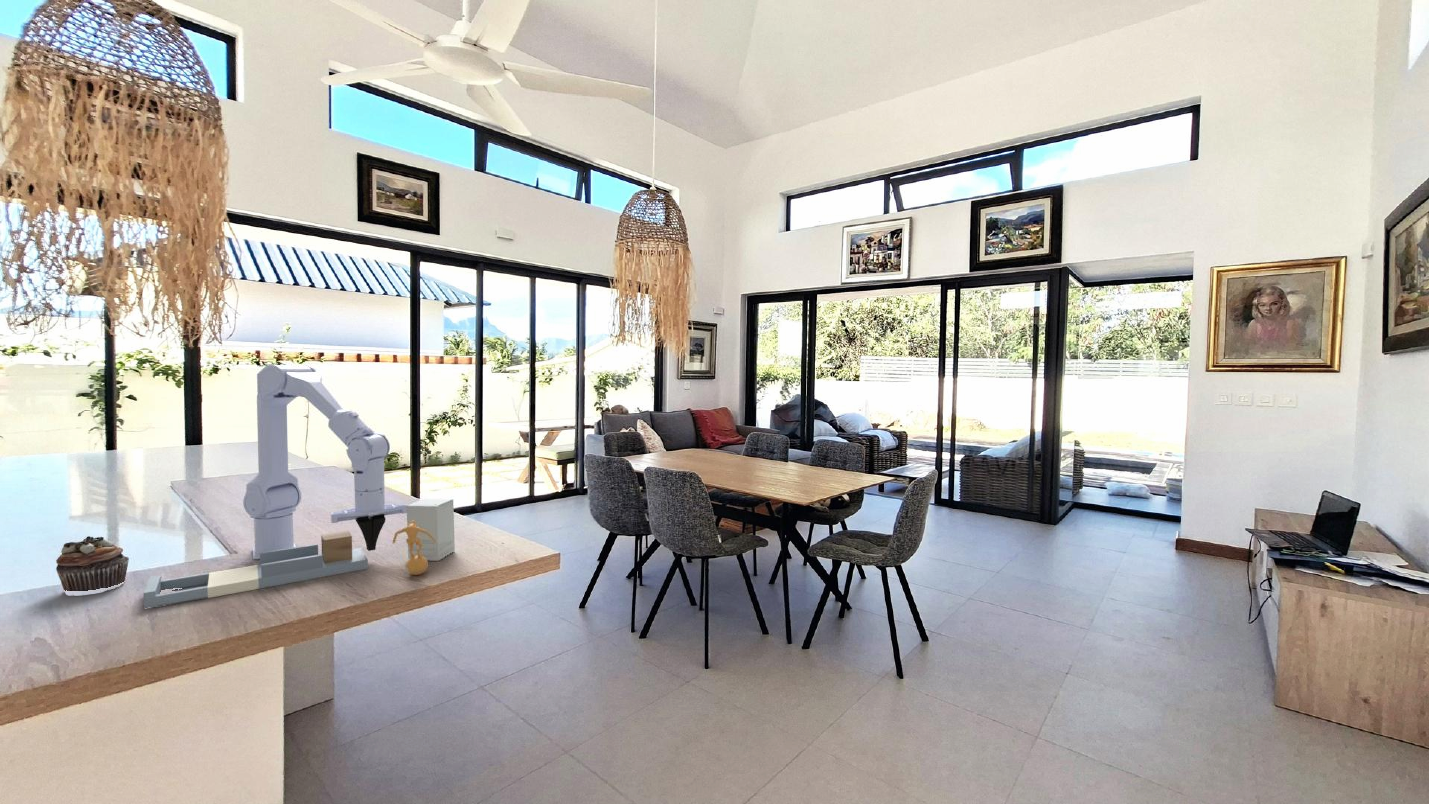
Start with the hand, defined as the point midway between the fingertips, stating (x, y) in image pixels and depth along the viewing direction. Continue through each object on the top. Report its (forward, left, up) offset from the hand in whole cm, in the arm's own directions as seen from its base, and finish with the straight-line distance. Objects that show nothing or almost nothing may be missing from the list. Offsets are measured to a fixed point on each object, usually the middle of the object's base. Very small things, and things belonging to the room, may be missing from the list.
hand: (371, 549), depth 130 cm
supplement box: (+4, +12, -3) cm, 13 cm away
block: (0, -6, -1) cm, 6 cm away
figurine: (+16, +6, -3) cm, 17 cm away
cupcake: (-14, -44, -3) cm, 47 cm away
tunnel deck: (0, -18, -3) cm, 19 cm away
